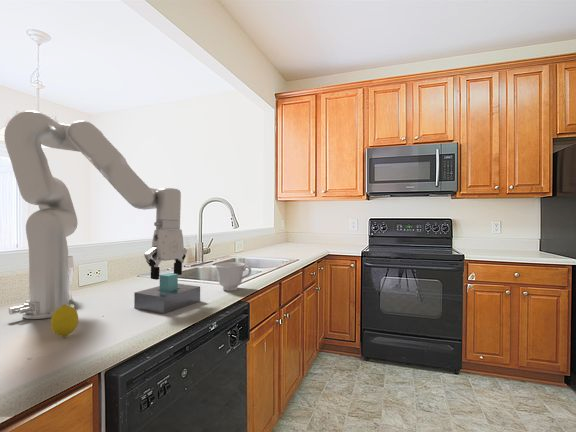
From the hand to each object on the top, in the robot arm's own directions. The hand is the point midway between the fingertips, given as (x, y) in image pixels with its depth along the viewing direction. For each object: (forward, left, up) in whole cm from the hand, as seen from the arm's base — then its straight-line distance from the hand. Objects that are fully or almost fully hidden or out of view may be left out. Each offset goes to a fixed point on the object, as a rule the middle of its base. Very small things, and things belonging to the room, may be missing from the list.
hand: (166, 276), depth 107 cm
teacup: (+27, -7, -10) cm, 30 cm away
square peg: (0, 0, -9) cm, 9 cm away
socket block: (0, 0, -9) cm, 9 cm away
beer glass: (-13, +37, -10) cm, 40 cm away
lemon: (-32, +1, -10) cm, 33 cm away
